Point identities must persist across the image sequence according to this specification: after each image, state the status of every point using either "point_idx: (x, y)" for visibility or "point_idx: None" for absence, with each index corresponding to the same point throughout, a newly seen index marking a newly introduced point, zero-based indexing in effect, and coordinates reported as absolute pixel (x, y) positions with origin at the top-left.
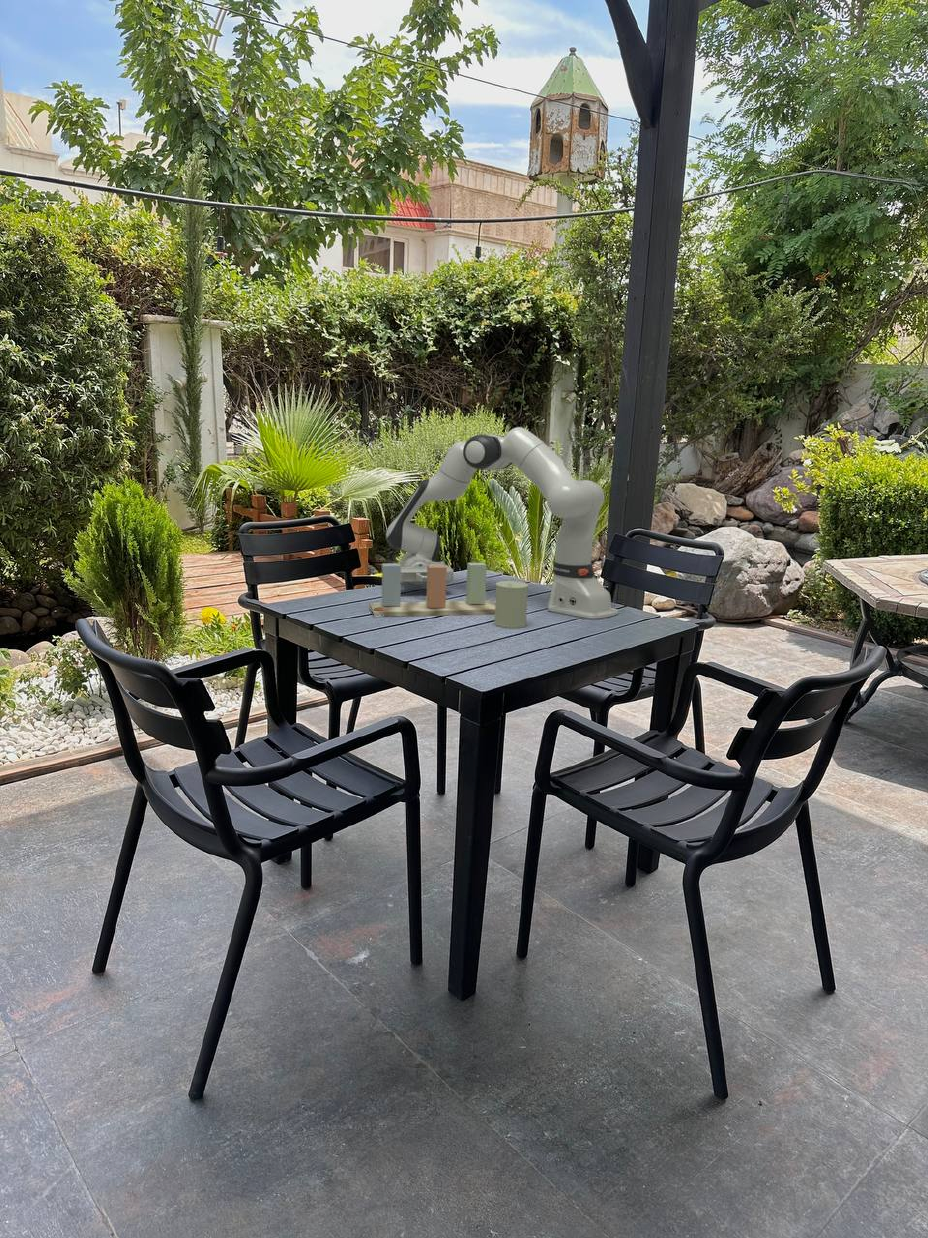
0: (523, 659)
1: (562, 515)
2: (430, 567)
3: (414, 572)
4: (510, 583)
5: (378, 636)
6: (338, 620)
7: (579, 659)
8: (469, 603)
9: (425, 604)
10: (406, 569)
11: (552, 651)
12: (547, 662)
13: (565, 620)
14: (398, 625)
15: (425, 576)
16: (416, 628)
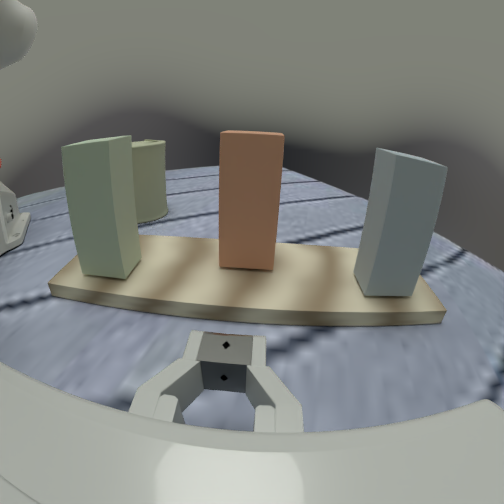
0: (214, 173)
1: (25, 54)
2: (278, 133)
3: (320, 434)
4: (132, 145)
5: (361, 210)
6: (447, 258)
7: (168, 171)
8: (140, 255)
9: (272, 282)
10: (417, 499)
11: (174, 176)
12: (198, 170)
13: (56, 216)
14: (341, 229)
15: (231, 334)
16: (309, 218)
